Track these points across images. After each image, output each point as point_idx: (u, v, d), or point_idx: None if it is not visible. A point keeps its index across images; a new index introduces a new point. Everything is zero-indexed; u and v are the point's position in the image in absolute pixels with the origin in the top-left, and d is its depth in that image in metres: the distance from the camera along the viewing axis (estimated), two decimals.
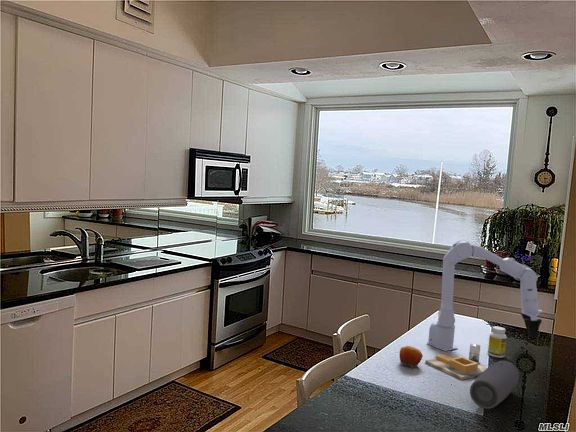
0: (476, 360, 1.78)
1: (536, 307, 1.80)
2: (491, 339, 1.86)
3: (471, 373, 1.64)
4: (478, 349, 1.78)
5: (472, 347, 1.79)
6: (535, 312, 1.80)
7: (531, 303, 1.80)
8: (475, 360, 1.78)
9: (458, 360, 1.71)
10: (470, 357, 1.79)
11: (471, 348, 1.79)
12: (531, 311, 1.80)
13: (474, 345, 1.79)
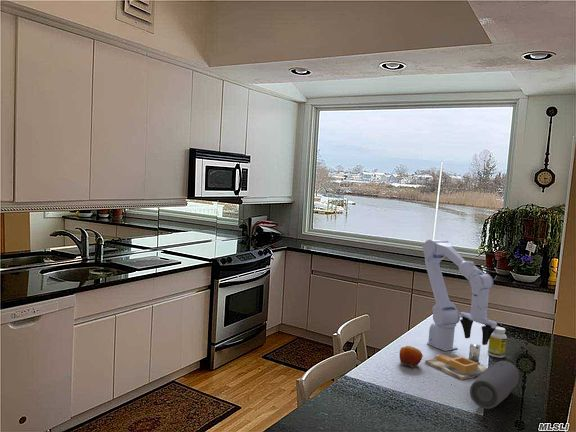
0: (476, 360, 1.78)
1: None
2: (491, 339, 1.86)
3: (471, 373, 1.64)
4: (478, 349, 1.78)
5: (472, 347, 1.79)
6: (469, 315, 1.80)
7: None
8: (475, 360, 1.78)
9: (458, 360, 1.71)
10: (470, 357, 1.79)
11: (471, 348, 1.79)
12: None
13: (474, 345, 1.79)
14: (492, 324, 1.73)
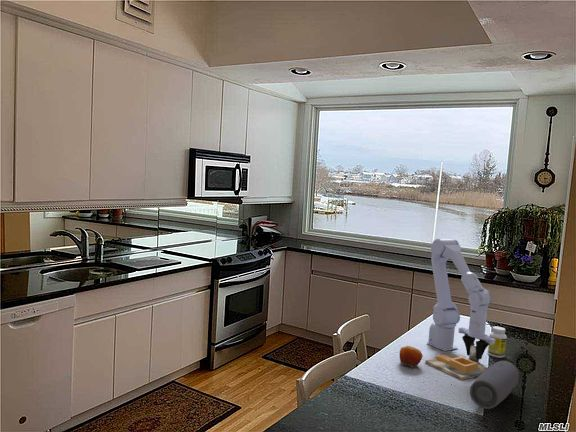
0: (476, 360, 1.78)
1: (469, 327, 1.80)
2: None
3: (471, 373, 1.64)
4: None
5: (472, 347, 1.79)
6: (468, 331, 1.81)
7: None
8: (475, 360, 1.78)
9: (458, 360, 1.71)
10: (470, 357, 1.79)
11: (471, 348, 1.79)
12: None
13: (474, 345, 1.79)
14: (490, 341, 1.73)
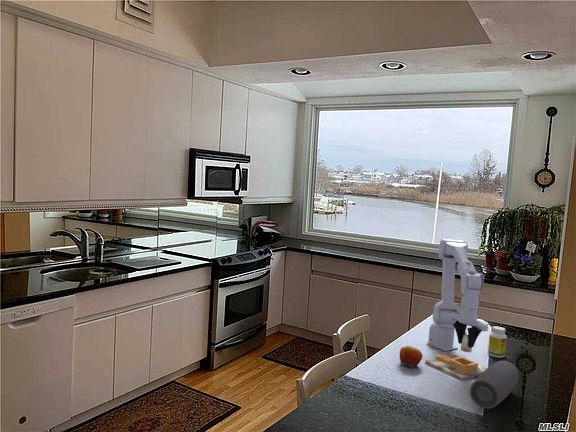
0: (469, 350, 1.67)
1: (460, 313, 1.68)
2: (491, 339, 1.86)
3: (471, 373, 1.64)
4: None
5: (465, 336, 1.67)
6: (459, 318, 1.69)
7: None
8: (468, 350, 1.67)
9: (458, 360, 1.71)
10: (463, 347, 1.68)
11: (464, 337, 1.68)
12: None
13: (467, 334, 1.68)
14: (483, 327, 1.62)
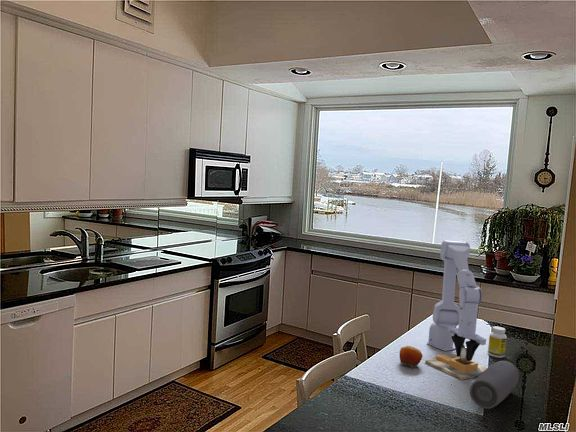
0: (467, 363, 1.67)
1: None
2: (491, 339, 1.86)
3: (471, 373, 1.64)
4: None
5: (463, 349, 1.67)
6: (457, 331, 1.69)
7: None
8: (466, 363, 1.67)
9: (458, 360, 1.71)
10: (461, 360, 1.68)
11: (462, 350, 1.68)
12: None
13: (465, 347, 1.68)
14: (481, 341, 1.62)
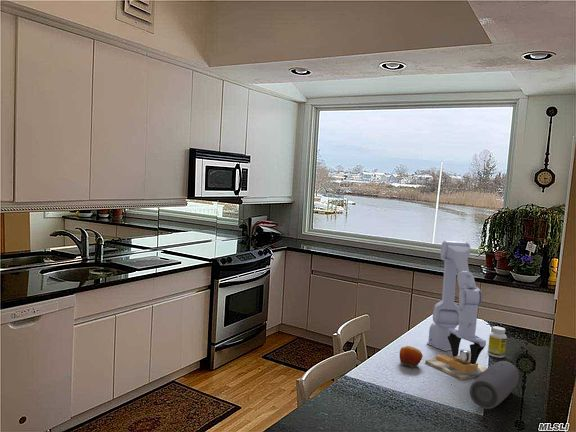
0: None
1: (458, 328, 1.68)
2: (491, 339, 1.86)
3: (471, 373, 1.64)
4: (469, 355, 1.67)
5: (463, 353, 1.67)
6: (457, 332, 1.70)
7: None
8: None
9: (458, 360, 1.71)
10: None
11: (462, 355, 1.68)
12: None
13: (464, 351, 1.68)
14: (481, 342, 1.62)
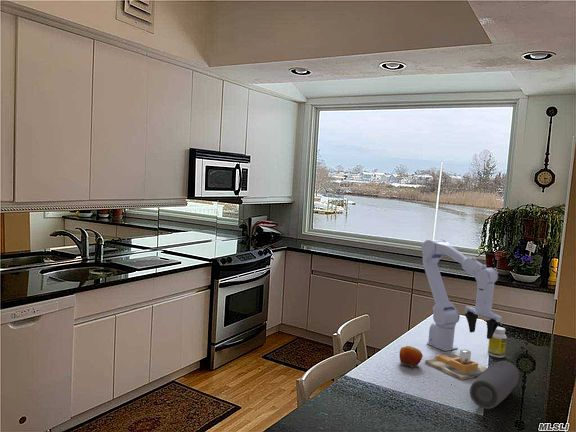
0: None
1: (475, 305, 1.80)
2: (491, 339, 1.86)
3: (471, 373, 1.64)
4: (469, 355, 1.67)
5: (463, 353, 1.67)
6: (474, 309, 1.81)
7: None
8: None
9: (458, 360, 1.71)
10: None
11: (461, 355, 1.68)
12: None
13: (464, 351, 1.68)
14: (497, 318, 1.73)
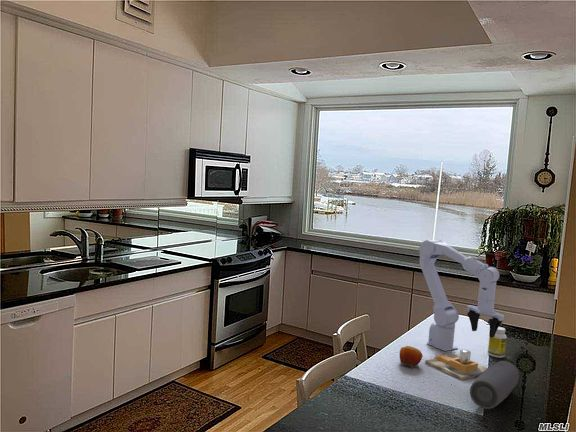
0: None
1: None
2: (491, 339, 1.86)
3: (471, 373, 1.64)
4: (469, 355, 1.67)
5: (462, 353, 1.68)
6: (476, 308, 1.82)
7: None
8: None
9: (458, 360, 1.71)
10: None
11: (461, 355, 1.68)
12: None
13: (464, 351, 1.68)
14: (499, 317, 1.75)
